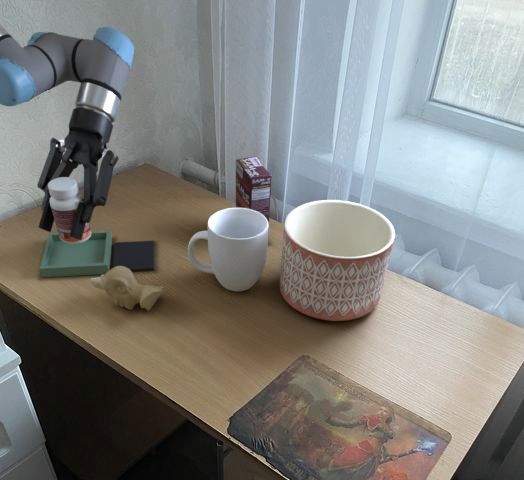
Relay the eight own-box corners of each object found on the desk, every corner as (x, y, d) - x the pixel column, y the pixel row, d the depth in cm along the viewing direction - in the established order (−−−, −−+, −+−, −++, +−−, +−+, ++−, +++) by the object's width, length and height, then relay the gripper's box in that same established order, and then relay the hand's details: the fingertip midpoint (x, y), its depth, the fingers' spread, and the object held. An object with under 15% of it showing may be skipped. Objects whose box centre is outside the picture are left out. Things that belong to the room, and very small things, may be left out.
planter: (296, 334, 94) (304, 264, 84) (267, 271, 107) (271, 204, 97) (395, 318, 98) (414, 250, 88) (355, 260, 112) (368, 195, 101)
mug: (185, 296, 101) (181, 235, 92) (193, 262, 109) (190, 204, 100) (264, 300, 101) (267, 240, 92) (266, 266, 109) (269, 208, 100)
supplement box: (234, 227, 119) (234, 158, 108) (254, 224, 120) (256, 155, 109) (247, 248, 113) (249, 177, 102) (269, 244, 115) (273, 174, 104)
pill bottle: (89, 245, 104) (76, 191, 96) (56, 245, 103) (41, 192, 95) (94, 227, 108) (82, 175, 100) (62, 228, 107) (48, 175, 99)
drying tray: (50, 241, 112) (48, 233, 110) (112, 239, 114) (110, 230, 112) (42, 277, 103) (39, 268, 102) (109, 273, 105) (107, 264, 103)
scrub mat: (115, 244, 112) (114, 242, 112) (153, 242, 113) (153, 240, 113) (112, 272, 105) (112, 270, 105) (154, 270, 106) (153, 268, 106)
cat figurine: (153, 295, 91) (90, 264, 91) (142, 329, 94) (81, 299, 94) (171, 280, 98) (112, 251, 98) (159, 311, 101) (103, 284, 101)
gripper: (147, 134, 102) (113, 250, 102) (63, 116, 106) (30, 228, 107) (129, 114, 95) (92, 240, 95) (39, 97, 99) (4, 216, 99)
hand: (59, 233), depth 101 cm, fingers closed on pill bottle, 6 cm apart
